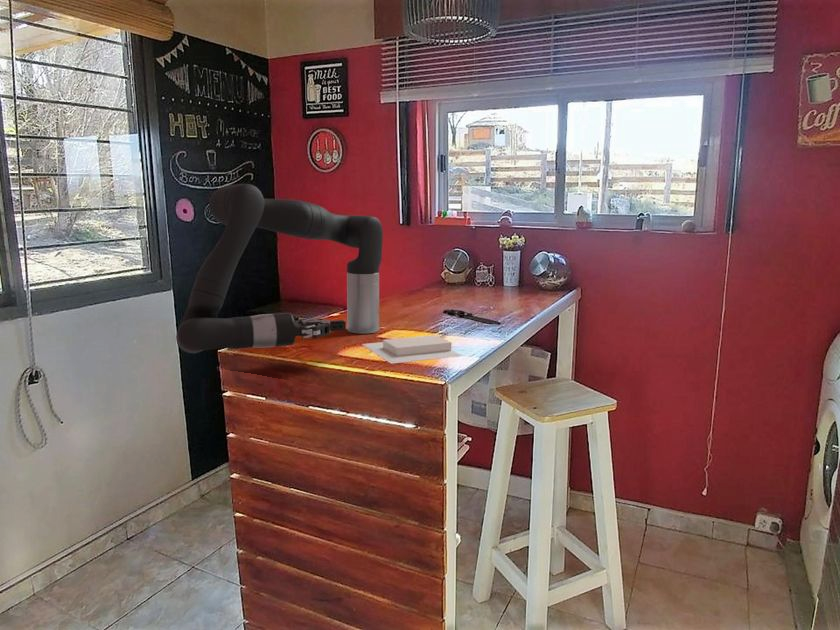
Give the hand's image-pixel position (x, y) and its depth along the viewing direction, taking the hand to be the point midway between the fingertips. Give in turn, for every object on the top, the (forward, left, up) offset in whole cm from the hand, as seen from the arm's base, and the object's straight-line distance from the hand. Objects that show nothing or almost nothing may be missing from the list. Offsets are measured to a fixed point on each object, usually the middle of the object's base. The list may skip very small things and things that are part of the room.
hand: (344, 324), depth 144 cm
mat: (0, +17, -9) cm, 19 cm away
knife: (-33, +55, -9) cm, 65 cm away
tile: (0, +12, -7) cm, 14 cm away
